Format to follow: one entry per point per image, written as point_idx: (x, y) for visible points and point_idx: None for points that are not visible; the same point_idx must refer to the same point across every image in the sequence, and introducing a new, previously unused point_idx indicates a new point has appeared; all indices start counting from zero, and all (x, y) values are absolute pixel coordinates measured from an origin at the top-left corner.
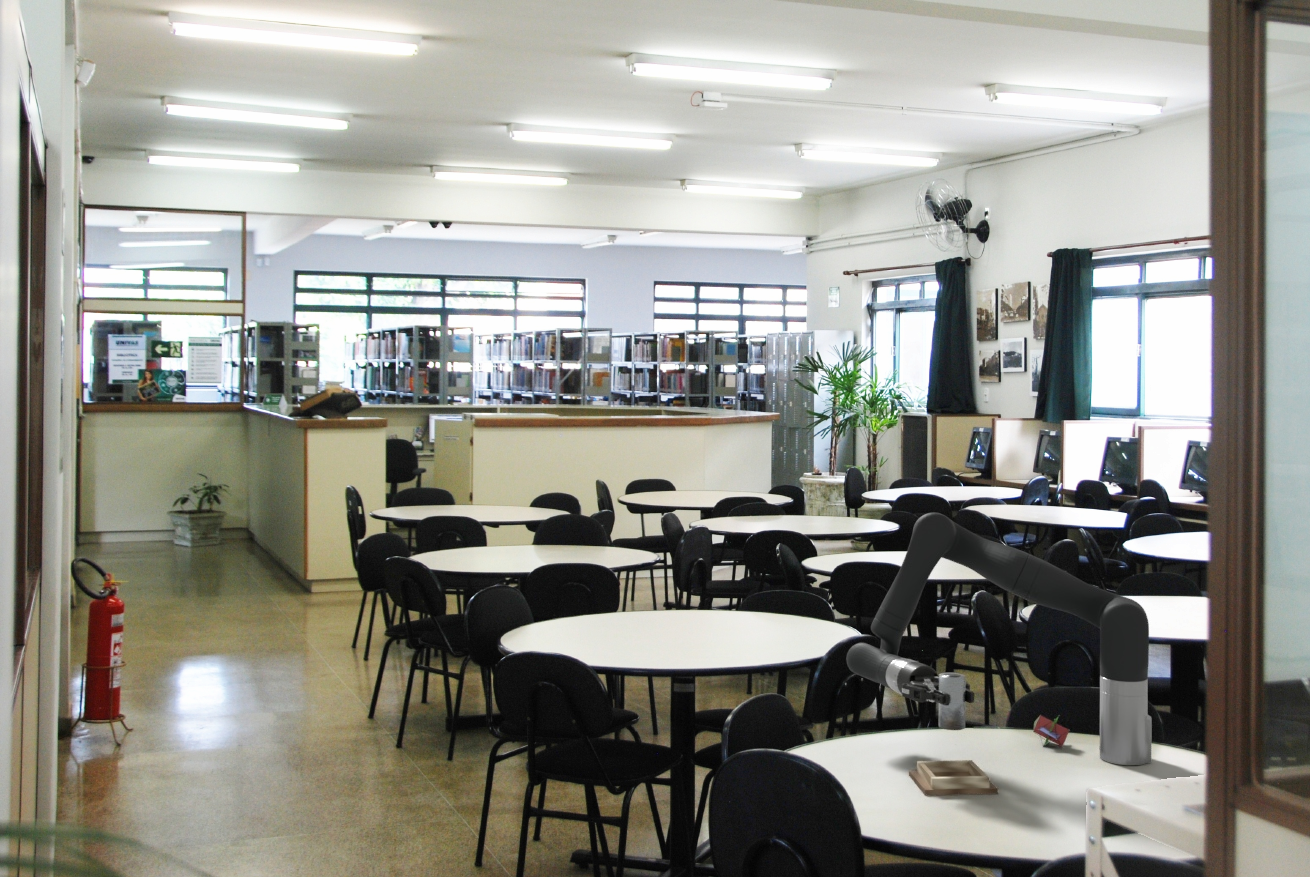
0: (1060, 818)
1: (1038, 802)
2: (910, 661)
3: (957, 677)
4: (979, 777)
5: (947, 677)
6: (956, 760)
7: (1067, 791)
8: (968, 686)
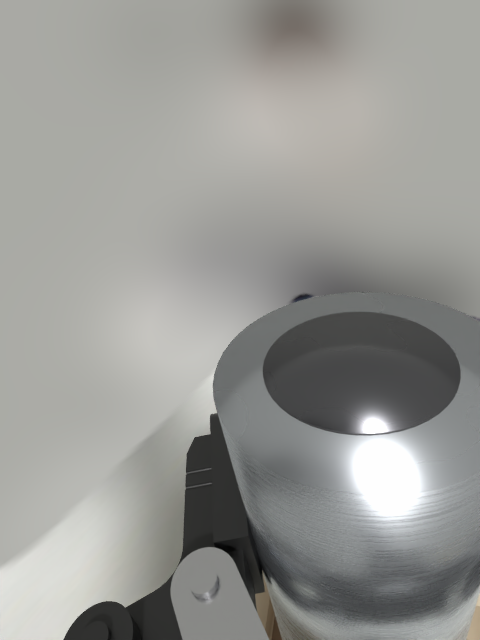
0: (206, 404)
1: (184, 485)
2: None
3: (325, 315)
4: None
5: (426, 314)
6: None
7: (56, 547)
8: (112, 608)
